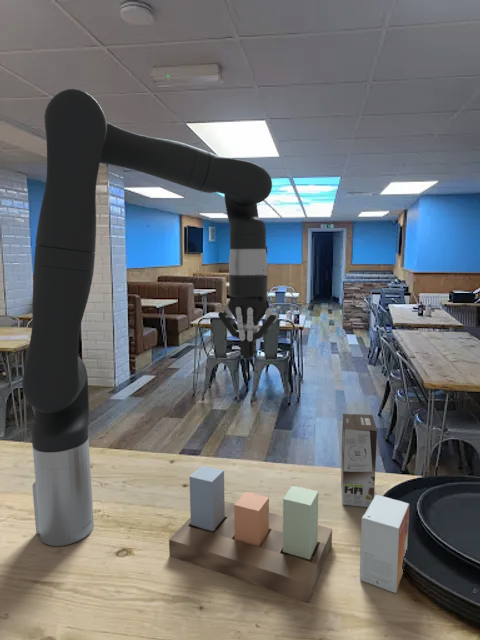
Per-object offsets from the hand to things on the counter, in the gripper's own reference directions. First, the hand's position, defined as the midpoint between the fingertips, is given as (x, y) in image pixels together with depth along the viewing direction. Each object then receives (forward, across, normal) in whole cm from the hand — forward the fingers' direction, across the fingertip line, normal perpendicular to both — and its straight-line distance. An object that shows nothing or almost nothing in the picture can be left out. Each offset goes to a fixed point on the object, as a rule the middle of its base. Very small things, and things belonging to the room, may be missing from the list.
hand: (248, 358), depth 89 cm
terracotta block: (+29, +8, -17) cm, 35 cm away
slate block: (+26, 0, -17) cm, 31 cm away
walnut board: (+29, +8, -17) cm, 35 cm away
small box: (+29, +29, -13) cm, 43 cm away
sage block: (+26, +16, -17) cm, 35 cm away
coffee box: (+29, +21, +8) cm, 37 cm away
